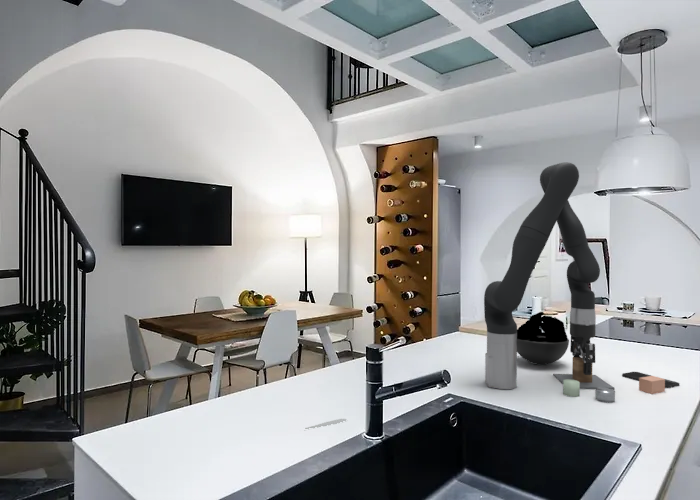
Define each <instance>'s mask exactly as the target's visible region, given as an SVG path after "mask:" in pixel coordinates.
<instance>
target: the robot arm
mask: <svg viewBox="0 0 700 500" xmlns="http://www.w3.org/2000/svg"><path fill="white" fill-rule="evenodd" d="M579 179H580V171H579V169H578V167H577V166H576V164H575V163H573V162H559V163H557V164H553V165H549V166H547V167H545V168H544V169H542V171H541V173H540V175H539V183H540V186H541V189H542V191H543V196H542V198H541V199H540V200H539V202H538V203H537V205H535V207H534V208H533V209H532V210H531V211H530V213H528V214H527V216H526V217H525V218H524V220H523V221H522V223H521V224H520V226H519V228H518V231H517V233H516V235H515V237H514V239H513V243H512V249H511V258H510V264H509V267H508V269H507V271H506V273H505V275H504V276H503V279H502V280H501V281H500V280H497V281H492V282H491V283H489V284H488V285H487V287H486V288H485V290H484V298H483V304H484V305H483V307H484V308H483V309H484V322H485V324H486V352H485V353H484V354H485V356H484V357H485V359H484V360H485V361H484V365H485V366H484V367H485V368H484V374H485V375H484V382H485V384H486V385H487V387H488V388H494V389H500V390H514V389H516V388H517V385H518V384H517V383H518V379H517V377H518V352H517V329H518V324H517V322H516V321H515V319H514V317H513V311H514V312H515V310H516V309H517V308H518V307H519V306H520V304H521V303H522V300H523V297H524V295H525V292H526V289H527V286H528V285H529V284H528V283H529V280H530V277H531V275H532V273H533V271H534V269H535V267H536V265H537V263H538V261H539V258H540V256H541V254H542V253H543V250H544V249H545V247H546V245H547V242H549V241H548V240H549V238H550V235H551V234H552V231H553V229H554V227H555V225H556V223H557V225H558V226H557V227H558V230H559V232H560V237H561V239H562V240H561V241H562V243H563V247H564V251H565V253H566V254H567V255H568V256H570V257H572V258H573V261H572V262H570V263H569V265H568V266H567V268H566V279H567V283H568V289H569V291H570V312H569V334H570V353H571V355H572V358H573V357H582V358H583V362H584V363H583V373H584V374H585V375H591V369H592V370H593V363H594V364H596V344H595V343H591V338H592V339H593V338H595V337H596V329H597V328H596V327H597V326H596V323H597V322H596V318H597V316H596V315H597V314H596V296H595V295H596V294H595V292H594V291H592V290H591V289H590V288H589V285H588V284H591V283H595V282H596V281H598V279H599V278H600V274H601V268H600V265H599V262H598V260H597V258H596V256H595V254H594V253H593V251H592V250H591V248H590V245H589V242H588V239H587V235H586V232H585V231H586V230H585V228H584V226H583V223H582V222H581V220H580V218H579V217H578V216H577V214H576V212H575V211H574V209H573V208H572V206H571V204H570V201H569V198H570V197H571V195H572V194H573V192H574V190H575V189H576V186H577V185H578V182H579ZM591 363H592V364H591Z"/></svg>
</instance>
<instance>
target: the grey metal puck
mask: <svg viewBox="0 0 700 500" xmlns="http://www.w3.org/2000/svg"><path fill="white" fill-rule="evenodd" d="M594 390H595V394H594V395H595V397H594V398H595V400H596V401H598V402H600V403H604V404H605V403H606V404H613V403H615V402H616V391H615V389H614V390H612V389H609V388H602V387H599V388H596V389H594Z"/></svg>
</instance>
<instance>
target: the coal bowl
mask: <svg viewBox="0 0 700 500" xmlns="http://www.w3.org/2000/svg"><path fill="white" fill-rule="evenodd" d="M569 344H570V339H569V338H568V335H567V332H566V328H565V323H564V322H563V321H562V320H560V319H559V318H557V317H556V316H551V315H545V313H544V311H539V312H537V313H535V314H532V315H531V316H530V317H529V319H528V320H527V321H525V322H524V323H522V324H521V325H520V326H519V327H517V355H519V356H520V357H521V358H523V360H525V361H527V362H529V363H531V364H534V365H542V366H545V365H551V364H553V363H555V362H557V361H559V360H560V359H561V358H562V357H564V355H565V354H566V352H567V350H568V348H569Z"/></svg>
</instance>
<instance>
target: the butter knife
mask: <svg viewBox="0 0 700 500" xmlns="http://www.w3.org/2000/svg"><path fill="white" fill-rule="evenodd" d="M346 420H347V418H339V419H334V420H330V421H326V422H322V423H319V424H315V425H311V426H308V427H305V429H308V430H310V429H309V428H313V429H316V428H315V427H317V428H322V427H321V426H323V427H327V425H328V426H331V424H333V425H337V423H338V424H341V423H340V422H342V423H344V422H343V421H345V422H347V421H346Z"/></svg>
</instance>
